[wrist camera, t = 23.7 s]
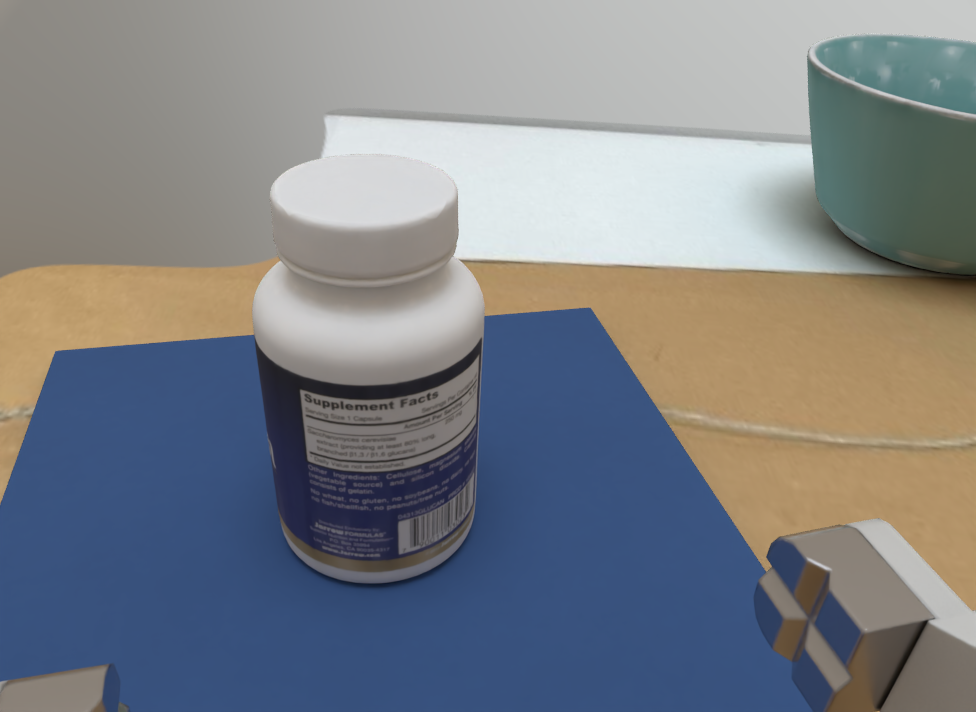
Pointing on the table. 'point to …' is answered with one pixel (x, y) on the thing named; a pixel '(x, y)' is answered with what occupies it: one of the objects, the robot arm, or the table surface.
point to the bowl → (897, 145)
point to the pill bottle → (370, 366)
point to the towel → (378, 606)
